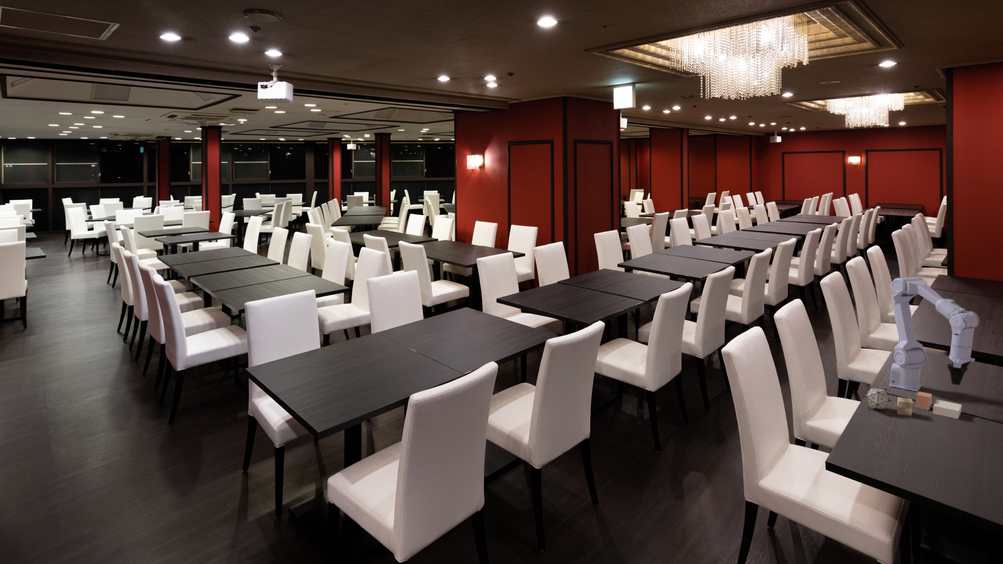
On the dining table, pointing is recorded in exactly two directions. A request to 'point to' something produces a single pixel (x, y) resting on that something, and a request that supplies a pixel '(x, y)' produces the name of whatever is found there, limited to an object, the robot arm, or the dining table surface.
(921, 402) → the terracotta block
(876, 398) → the game die
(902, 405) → the maple block
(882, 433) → the dining table surface
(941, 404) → the slab
